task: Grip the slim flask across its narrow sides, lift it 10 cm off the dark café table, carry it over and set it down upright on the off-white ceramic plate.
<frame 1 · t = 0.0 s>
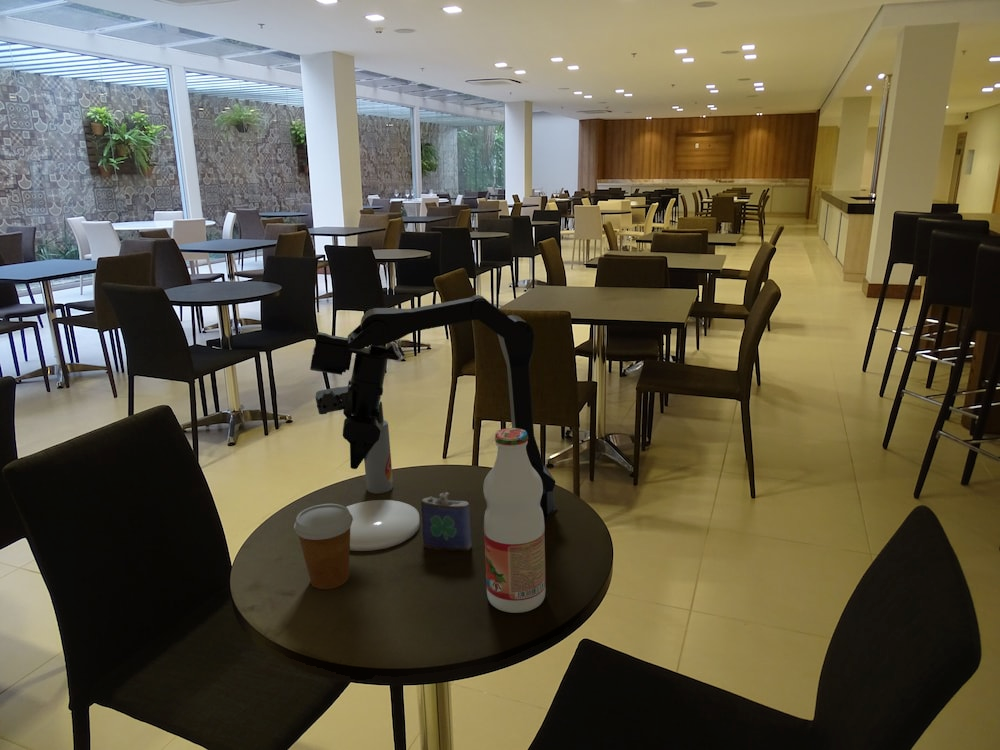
hand: (353, 459, 132), 15 cm above the table, tool pointing down, fingers open, 9 cm apart
plate: (373, 527, 139), on the table
flask: (447, 547, 131), on the table
lotion bottle: (380, 489, 156), on the table
disposable coffee cup: (330, 580, 121), on the table
fruit juice: (516, 598, 114), on the table
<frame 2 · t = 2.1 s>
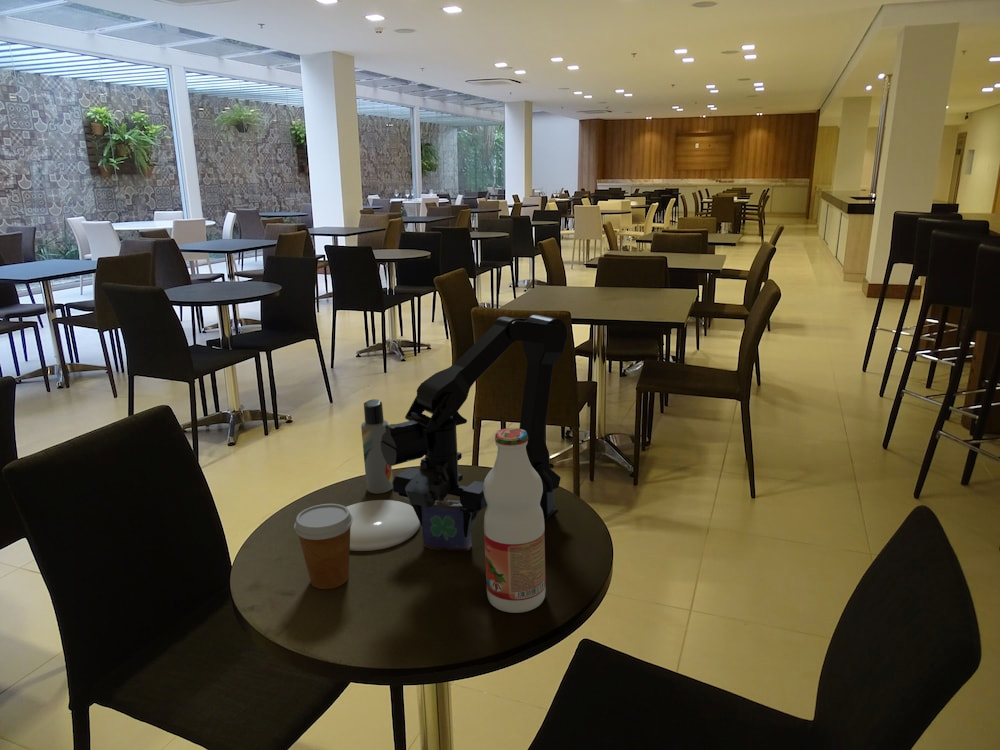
hand: (445, 531, 130), 3 cm above the table, tool pointing down, fingers closed on flask, 9 cm apart
flask: (447, 547, 131), on the table, touching gripper
everything else where it was.
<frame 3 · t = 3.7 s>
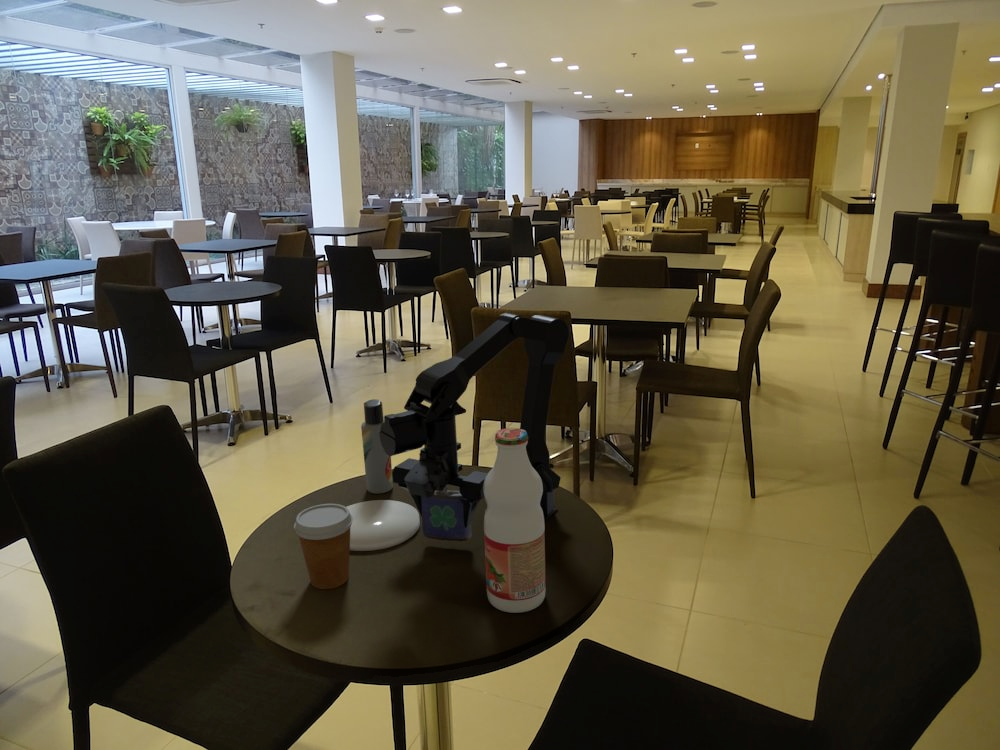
hand: (445, 521, 130), 5 cm above the table, tool pointing down, fingers closed on flask, 9 cm apart
flask: (447, 537, 130), point 2 cm above the table, touching gripper
everything else where it was.
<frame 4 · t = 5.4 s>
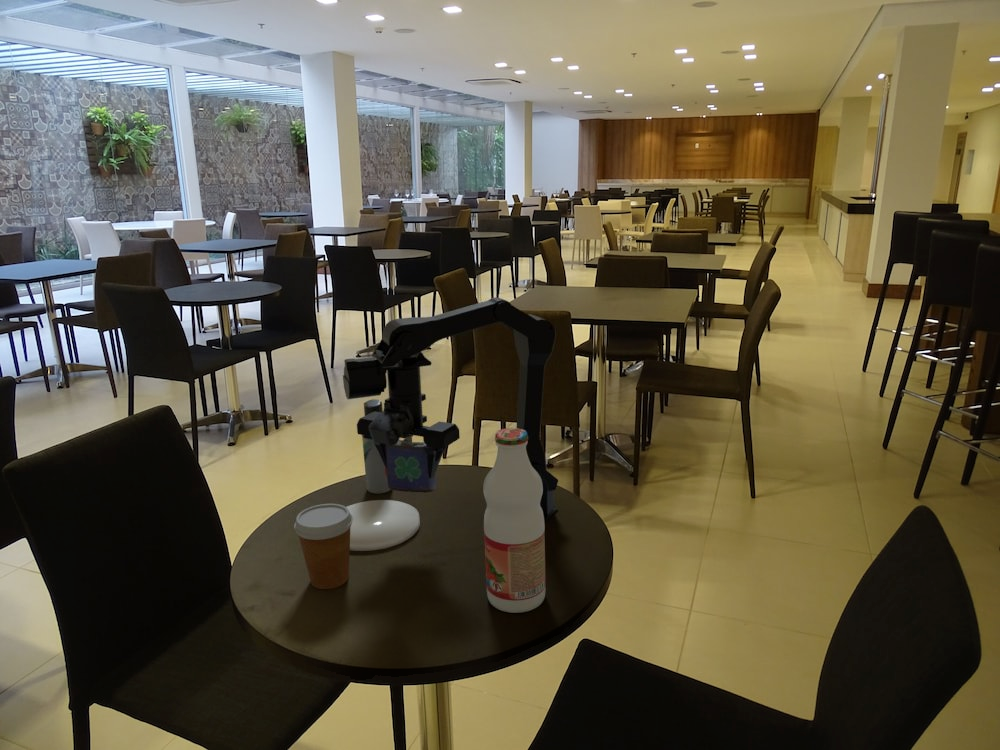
hand: (409, 473, 130), 13 cm above the table, tool pointing down, fingers closed on flask, 9 cm apart
flask: (411, 489, 131), point 10 cm above the table, touching gripper
everything else where it was.
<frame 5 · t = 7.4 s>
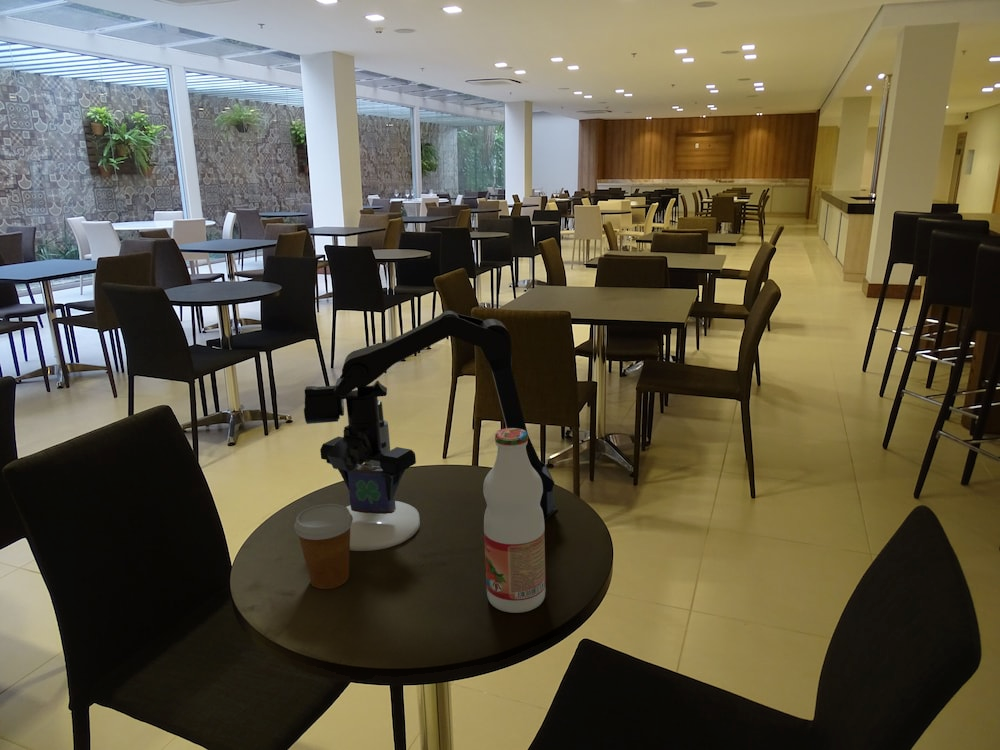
hand: (371, 495, 137), 7 cm above the table, tool pointing down, fingers closed on flask, 9 cm apart
flask: (372, 511, 138), point 3 cm above the table, touching gripper
everything else where it was.
when the fingers open (5 cm above the table, at t = 8.9 s): flask stays where it is, resting on plate.
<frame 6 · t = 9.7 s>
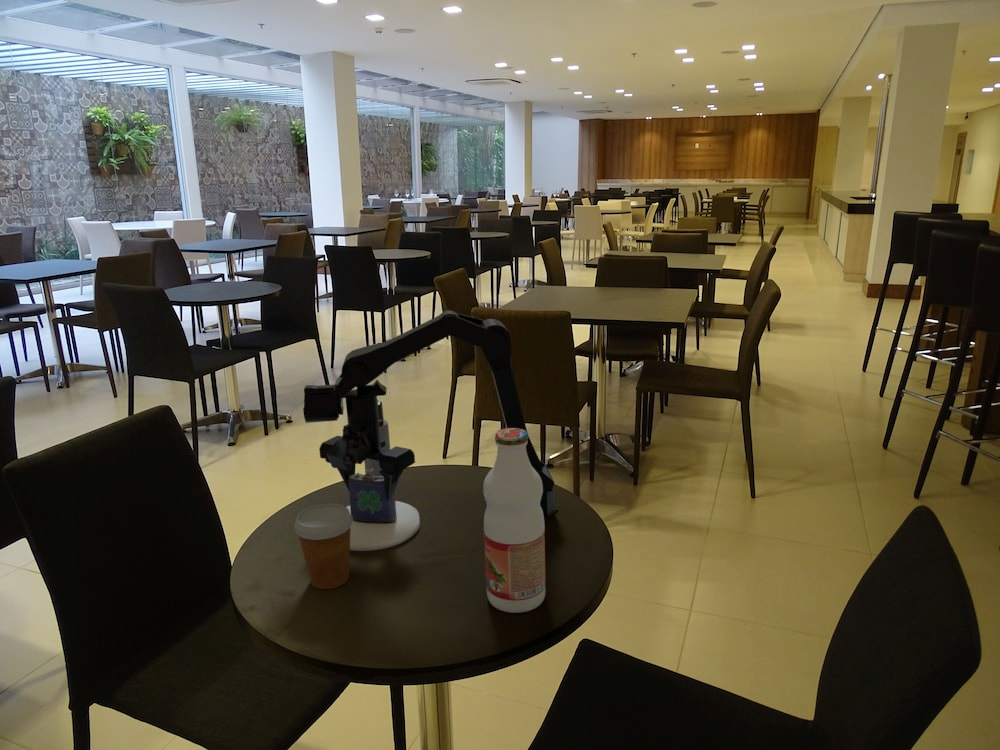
hand: (369, 495, 137), 7 cm above the table, tool pointing down, fingers open, 9 cm apart
flask: (373, 521, 139), point 1 cm above the table, touching plate
everything else where it was.
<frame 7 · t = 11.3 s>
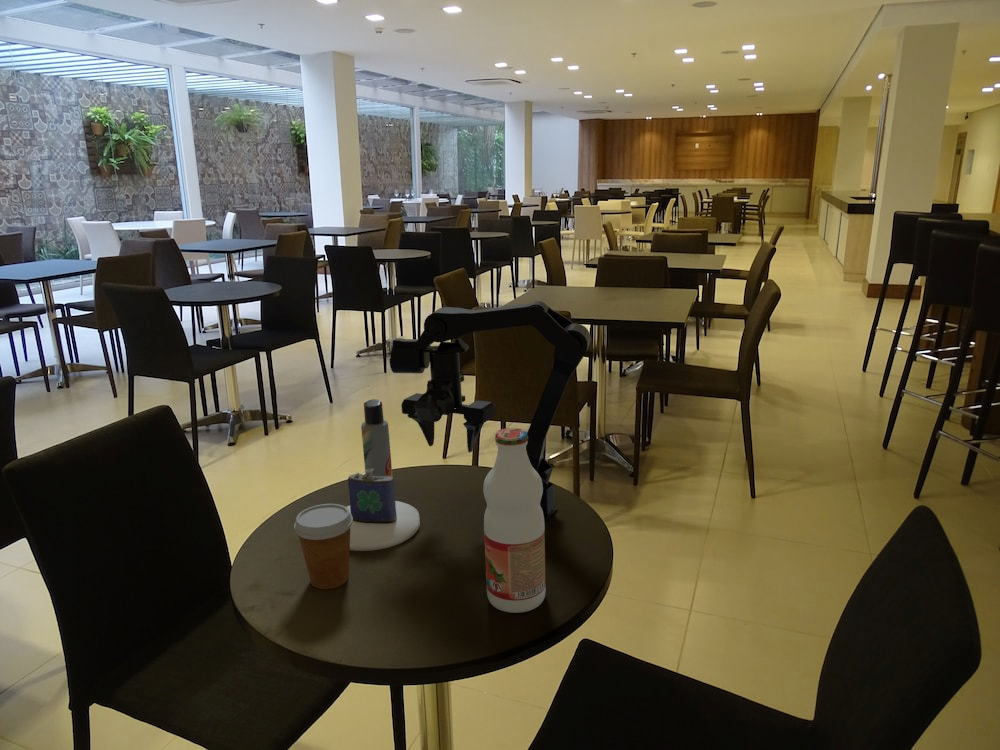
hand: (450, 448, 143), 13 cm above the table, tool pointing down, fingers open, 9 cm apart
nothing on the table moved.
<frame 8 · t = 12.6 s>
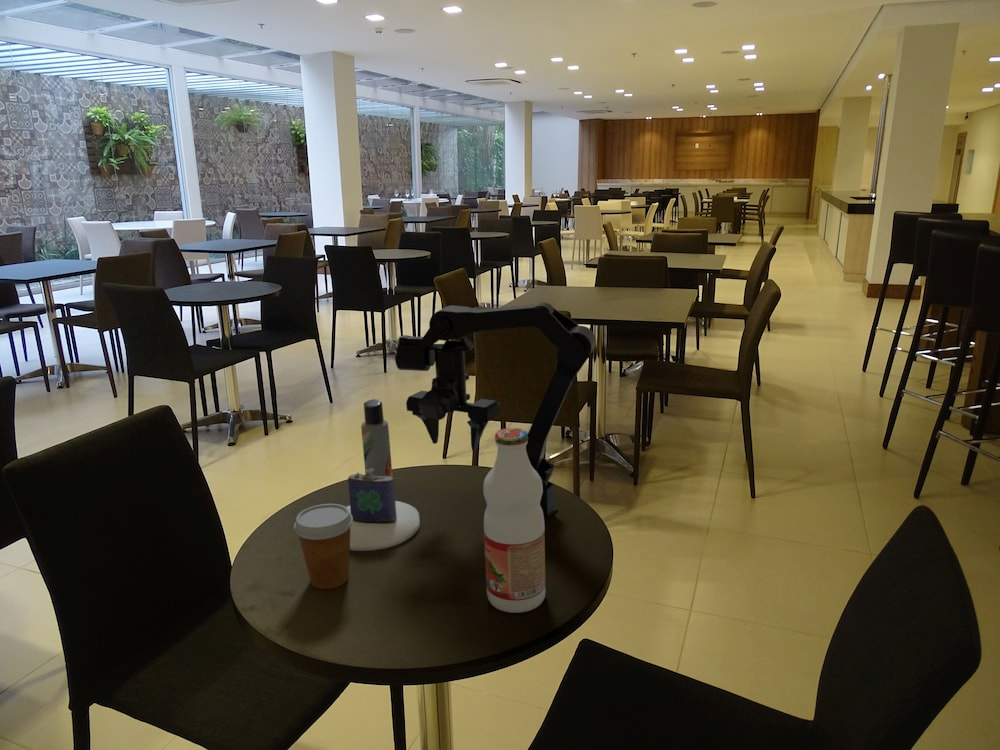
hand: (454, 446, 143), 13 cm above the table, tool pointing down, fingers open, 9 cm apart
nothing on the table moved.
at the end: flask inside the target area on the plate (0.2 cm from its centre), point 1.3 cm above the plate's base; flask tilted 2°; the gripper is holding nothing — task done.
